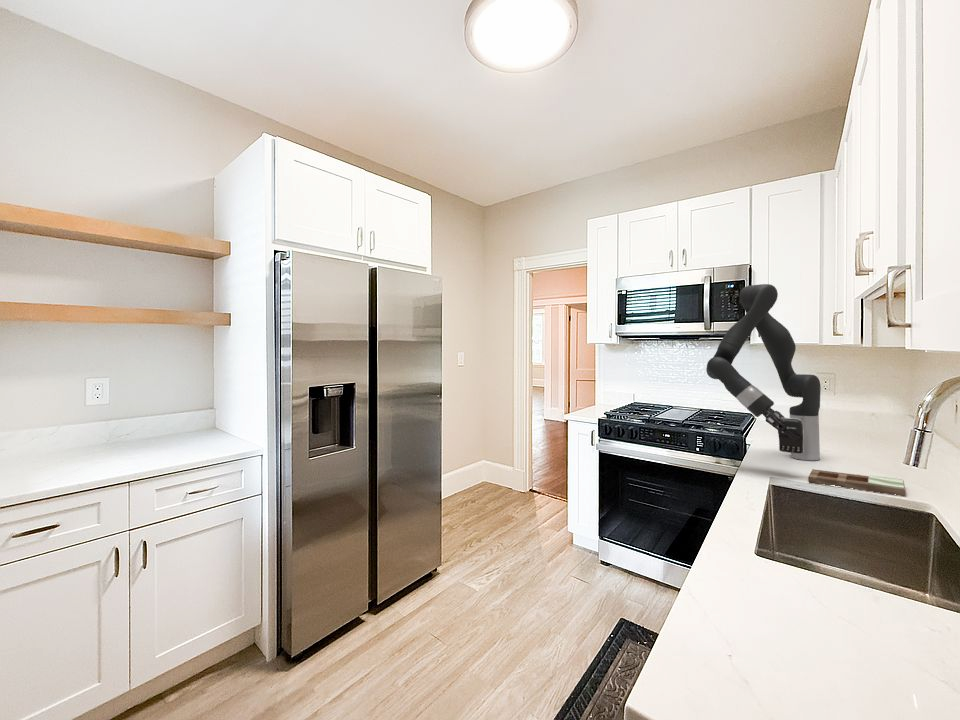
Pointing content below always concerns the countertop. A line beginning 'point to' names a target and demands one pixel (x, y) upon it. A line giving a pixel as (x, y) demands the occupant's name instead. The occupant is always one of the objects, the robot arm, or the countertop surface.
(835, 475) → the board
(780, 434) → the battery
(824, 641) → the countertop surface
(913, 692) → the countertop surface
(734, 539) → the countertop surface
